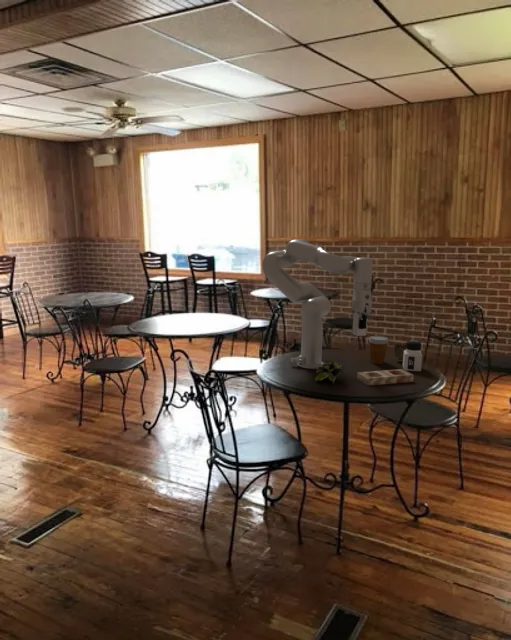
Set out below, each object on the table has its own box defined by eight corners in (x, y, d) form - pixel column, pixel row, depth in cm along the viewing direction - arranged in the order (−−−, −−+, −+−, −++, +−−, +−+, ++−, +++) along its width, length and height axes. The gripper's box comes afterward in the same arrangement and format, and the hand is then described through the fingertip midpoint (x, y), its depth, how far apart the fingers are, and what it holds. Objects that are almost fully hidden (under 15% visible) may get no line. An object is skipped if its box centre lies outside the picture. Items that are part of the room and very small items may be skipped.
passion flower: (328, 391, 230) (343, 367, 231) (337, 394, 219) (352, 370, 220) (308, 377, 228) (323, 353, 229) (315, 380, 217) (331, 355, 219)
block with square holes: (367, 385, 221) (367, 378, 220) (356, 379, 229) (357, 372, 229) (413, 381, 228) (413, 374, 227) (401, 375, 236) (401, 369, 236)
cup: (406, 364, 254) (407, 348, 253) (391, 362, 258) (392, 346, 256) (410, 361, 260) (412, 345, 259) (395, 358, 264) (397, 343, 263)
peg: (357, 336, 232) (358, 313, 230) (352, 333, 236) (353, 311, 234) (366, 335, 233) (367, 313, 231) (361, 333, 237) (362, 311, 235)
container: (421, 371, 243) (423, 344, 240) (403, 370, 244) (405, 342, 242) (419, 367, 250) (421, 340, 248) (402, 365, 252) (404, 339, 249)
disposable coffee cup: (363, 362, 256) (365, 338, 254) (371, 358, 264) (373, 334, 262) (382, 365, 251) (384, 341, 249) (390, 361, 259) (391, 337, 256)
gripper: (379, 288, 223) (377, 331, 227) (360, 283, 239) (357, 323, 243) (364, 289, 221) (361, 332, 225) (345, 283, 237) (343, 324, 240)
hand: (359, 327), depth 234 cm, fingers closed on peg, 4 cm apart
